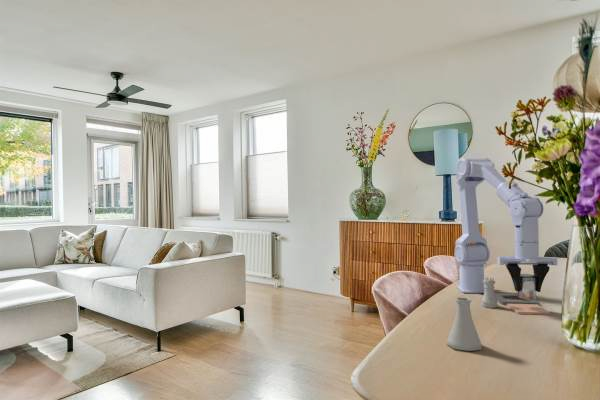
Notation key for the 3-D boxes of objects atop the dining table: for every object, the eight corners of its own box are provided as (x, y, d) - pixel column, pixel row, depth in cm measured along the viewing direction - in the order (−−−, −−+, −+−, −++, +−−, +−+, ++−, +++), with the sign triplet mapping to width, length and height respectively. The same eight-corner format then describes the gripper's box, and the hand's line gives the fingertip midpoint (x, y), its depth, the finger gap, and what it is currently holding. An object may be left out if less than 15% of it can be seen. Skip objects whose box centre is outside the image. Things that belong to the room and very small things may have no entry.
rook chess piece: (500, 308, 110) (499, 280, 110) (483, 308, 111) (482, 279, 111) (495, 304, 114) (495, 277, 114) (479, 303, 115) (478, 276, 115)
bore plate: (491, 296, 124) (491, 293, 124) (526, 296, 122) (526, 294, 122) (502, 304, 114) (502, 301, 114) (539, 305, 112) (539, 302, 112)
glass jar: (514, 294, 111) (514, 273, 111) (532, 294, 111) (532, 273, 110) (520, 299, 107) (520, 278, 106) (539, 300, 106) (539, 278, 106)
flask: (442, 339, 88) (441, 294, 88) (476, 340, 87) (475, 294, 87) (450, 351, 81) (450, 303, 81) (487, 352, 80) (487, 303, 80)
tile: (507, 305, 113) (506, 303, 113) (537, 306, 111) (537, 304, 111) (517, 313, 105) (517, 311, 105) (550, 314, 104) (550, 312, 104)
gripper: (503, 243, 105) (503, 293, 105) (562, 243, 103) (563, 295, 103) (494, 240, 112) (495, 287, 112) (550, 240, 110) (551, 289, 110)
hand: (527, 291), depth 108 cm, fingers closed on glass jar, 4 cm apart
